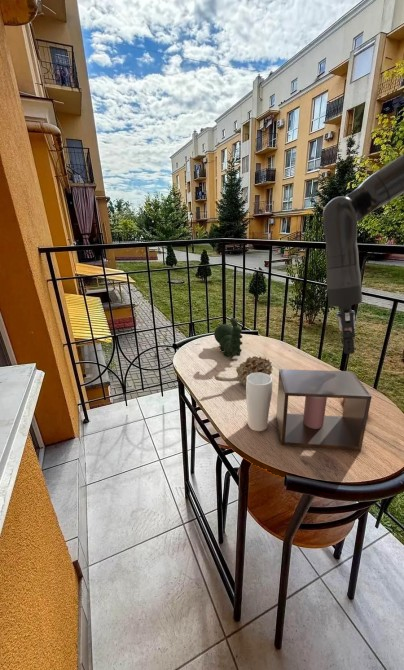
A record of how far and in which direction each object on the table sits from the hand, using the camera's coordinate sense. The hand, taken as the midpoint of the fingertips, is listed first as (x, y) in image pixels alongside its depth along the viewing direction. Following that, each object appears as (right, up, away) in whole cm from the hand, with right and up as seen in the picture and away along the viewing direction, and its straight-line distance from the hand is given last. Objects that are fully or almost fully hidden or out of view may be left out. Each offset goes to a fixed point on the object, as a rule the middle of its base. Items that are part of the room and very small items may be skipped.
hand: (347, 348), depth 72 cm
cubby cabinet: (-7, -22, +3) cm, 24 cm away
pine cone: (-23, -15, +27) cm, 38 cm away
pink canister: (-7, -21, +5) cm, 22 cm away
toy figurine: (-26, -4, +55) cm, 61 cm away
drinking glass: (-22, -22, +6) cm, 32 cm away
